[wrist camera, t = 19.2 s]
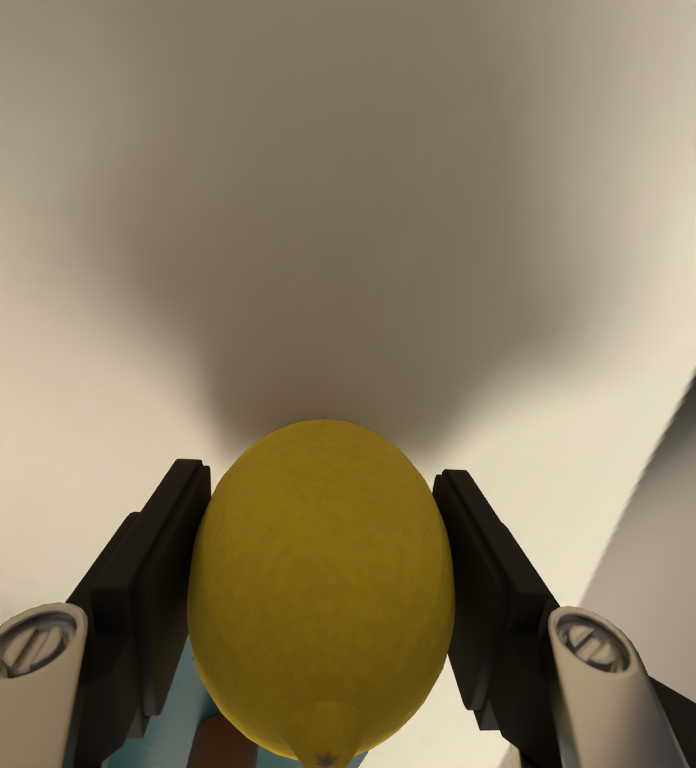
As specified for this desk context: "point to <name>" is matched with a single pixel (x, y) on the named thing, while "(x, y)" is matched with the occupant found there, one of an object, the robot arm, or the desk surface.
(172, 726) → the lid
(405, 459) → the lemon
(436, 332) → the desk surface
